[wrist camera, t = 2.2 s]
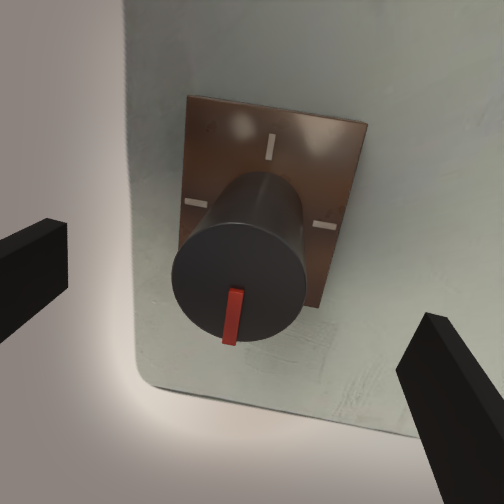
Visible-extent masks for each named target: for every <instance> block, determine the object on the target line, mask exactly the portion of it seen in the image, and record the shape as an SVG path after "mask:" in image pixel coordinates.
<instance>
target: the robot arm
mask: <svg viewBox="0 0 504 504" xmlns="http://www.w3.org/2000/svg"><path fill="white" fill-rule="evenodd" d="M67 288H68V249H67V223H65V222H61V221H57V220H53V219H49V218H46V219H43V220H42V221H39V222H37V223H35V224H33V225H31V226H29V227H27V228H25V229H22V230H21V231H18V232H16V233H14V234H12V235H10V236H8V237H6V238H4V239H1V240H0V343H2V342H3V341H4V340H5V339H6V338H8V337H9V336H10V335H11V334H13V333H14V332H15V331H16V330H17V329H19V328H20V327H21V326H22V325H23V324H24V323H26V322H27V321H28V320H30V319H31V318H32V317H33V316H34V315H36V314H37V313H38V312H39V311H40V310H42V309H43V308H44V307H45V306H46V305H48V304H49V303H50V302H51V301H53V300H54V299H55V298H56V297H57V296H59V295H60V294H61V293H62V292H63V291H65V290H66V289H67ZM396 373H397V376H398V378H399V381H400V384H401V387H402V389H403V392H404V395H405V398H406V400H407V403H408V406H409V409H410V411H411V414H412V417H413V420H414V422H415V425H416V428H417V431H418V433H419V436H420V439H421V442H422V444H423V447H424V450H425V452H426V455H427V458H428V460H429V464H430V466H431V469H432V472H433V474H434V477H435V480H436V483H437V485H438V488H439V491H440V494H441V496H442V499H443V502H444V504H504V400H503V398H502V397H501V395H500V394H499V392H498V391H497V389H496V388H495V386H494V385H493V384H492V382H491V381H490V379H489V378H488V376H487V375H486V373H485V372H484V370H483V369H482V368H481V366H480V365H479V363H478V362H477V360H476V359H475V357H474V356H473V354H472V353H471V352H470V350H469V349H468V347H467V346H466V344H465V343H464V341H463V340H462V338H461V337H460V336H459V334H458V333H457V331H456V330H455V328H454V327H453V325H452V324H451V322H450V321H449V320H448V318H447V317H443V316H439V315H435V314H431V313H427V312H425V314H424V316H423V318H422V320H421V322H420V324H419V326H418V328H417V330H416V332H415V334H414V336H413V337H412V339H411V341H410V343H409V345H408V347H407V349H406V351H405V353H404V355H403V357H402V359H401V360H400V362H399V364H398V366H397V368H396Z"/></svg>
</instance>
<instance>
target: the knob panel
mask: <svg viewBox="0 0 504 504" xmlns="http://www.w3.org/2000/svg"><path fill="white" fill-rule="evenodd" d="M367 127H368V124H367V123H364V122H361V121H356V120H350V119H343V118H337V117H331V116H325V115H318V114H312V113H306V112H300V111H293V110H287V109H281V108H274V107H268V106H262V105H256V104H249V103H243V102H237V101H231V100H224V99H218V98H212V97H206V96H199V95H187V105H186V123H185V141H184V158H183V176H182V194H181V211H180V229H179V247H178V250H179V249H180V247H181V246H182V244H183V243H184V242H185V240H186V239H187V238H188V237H189V235H190V234H191V233H192V231H193V230H194V229H195V227H196V226H197V225H198V223H199V222H200V221H201V219H202V218H203V217H204V216H205V214H206V213H207V212H208V210H209V209H210V208H211V206H212V205H213V204H214V202H215V201H216V200H217V198H218V197H219V196H220V194H221V193H222V192H223V191H224V189H225V188H226V187H227V186H228V184H229V183H230V182H232V181H233V180H234V179H236V178H237V177H239V176H241V175H243V174H246V173H250V172H259V171H261V172H268V173H272V174H275V175H278V176H280V177H281V178H283V179H284V180H286V181H287V182H288V183H289V184H290V185H291V186H292V187H293V188H294V189H295V191H296V192H297V194H298V196H299V198H300V201H301V204H302V211H303V227H304V243H305V260H306V276H307V293H306V299H305V302H304V306H309V307H314V308H319V305H320V301H321V297H322V294H323V290H324V286H325V283H326V279H327V275H328V271H329V268H330V264H331V260H332V257H333V253H334V249H335V246H336V242H337V238H338V234H339V231H340V227H341V223H342V220H343V216H344V212H345V209H346V205H347V201H348V197H349V194H350V190H351V186H352V183H353V179H354V175H355V172H356V168H357V164H358V160H359V157H360V153H361V149H362V146H363V142H364V138H365V135H366V131H367Z"/></svg>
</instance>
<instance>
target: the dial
mask: <svg viewBox="0 0 504 504" xmlns="http://www.w3.org/2000/svg"><path fill="white" fill-rule="evenodd" d="M171 276H172V287H173V291H174V295H175V298H176V300H177V302H178V304H179V306H180V307H181V309H182V311H183V312H184V313H185V314H186V316H187V317H188V318H189V319H190V320H191V321H192V322H193V323H194V324H196V325H197V326H198V327H200V328H201V329H203V330H204V331H206V332H208V333H210V334H212V335H214V336H217V337H219V338H222V343H223V344H227V345H233V346H235V345H236V342H237V341H239V342H249V341H257V340H262V339H266V338H269V337H271V336H274V335H276V334H278V333H279V332H281V331H283V330H284V329H285V328H287V327H288V326H289V325H290V324H291V323H292V322H293V321H294V320H295V319H296V317H297V316H298V314H299V313H300V311H301V309H302V307H303V305H304V302H305V299H306V293H307V276H306V260H305V243H304V227H303V211H302V204H301V201H300V198H299V196H298V194H297V192H296V191H295V189H294V188H293V187H292V186H291V185H290V184H289V183H288V182H287V181H286V180H284V179H283V178H281V177H280V176H278V175H275V174H272V173H268V172H261V171H259V172H250V173H246V174H243V175H241V176H239V177H237V178H236V179H234V180H233V181H232V182H230V183H229V184H228V186H227V187H226V188H225V189H224V191H223V192H222V193H221V194H220V196H219V197H218V198H217V200H216V201H215V202H214V204H213V205H212V206H211V208H210V209H209V210H208V212H207V213H206V214H205V216H204V217H203V218H202V219H201V221H200V222H199V223H198V225H197V226H196V227H195V229H194V230H193V231H192V233H191V234H190V235H189V237H188V238H187V239H186V240H185V242H184V243H183V244H182V246H181V247H180V249H179V250H178V252H177V254H176V257H175V259H174V262H173V266H172V273H171Z"/></svg>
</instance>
